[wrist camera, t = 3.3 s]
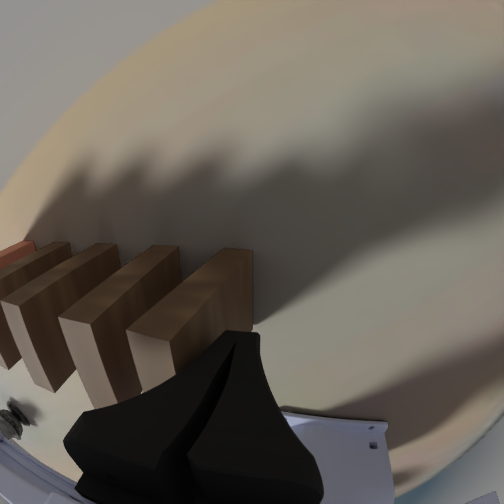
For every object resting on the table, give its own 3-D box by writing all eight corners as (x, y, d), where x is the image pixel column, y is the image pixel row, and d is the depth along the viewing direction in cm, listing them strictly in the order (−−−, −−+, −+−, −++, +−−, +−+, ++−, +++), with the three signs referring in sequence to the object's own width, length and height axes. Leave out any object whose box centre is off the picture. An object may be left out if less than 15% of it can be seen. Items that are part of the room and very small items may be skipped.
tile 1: (252, 250, 16) (169, 341, 8) (252, 328, 17) (191, 438, 9) (223, 247, 16) (125, 329, 8) (227, 324, 18) (155, 426, 10)
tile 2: (178, 246, 16) (89, 324, 8) (185, 320, 18) (124, 419, 10) (153, 245, 17) (57, 316, 9) (162, 317, 18) (94, 409, 10)
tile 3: (116, 243, 17) (18, 306, 9) (128, 312, 18) (54, 393, 11) (97, 243, 17) (0, 300, 9) (109, 309, 19) (34, 383, 11)
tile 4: (69, 242, 17) (-23, 293, 10) (82, 305, 19) (8, 370, 11) (54, 241, 18) (-34, 289, 10) (67, 302, 19) (-5, 362, 11)
